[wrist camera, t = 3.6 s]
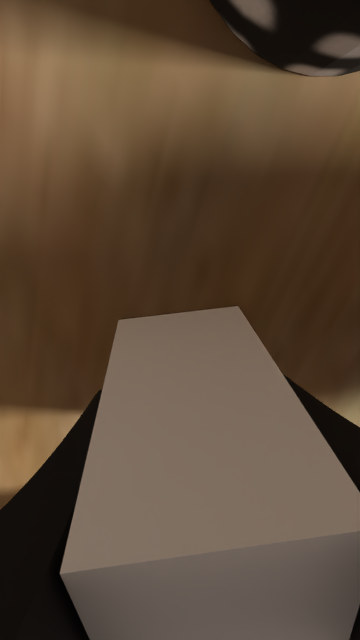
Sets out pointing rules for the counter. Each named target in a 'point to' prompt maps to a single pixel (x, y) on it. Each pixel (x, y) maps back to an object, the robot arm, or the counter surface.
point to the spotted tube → (298, 33)
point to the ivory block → (209, 495)
